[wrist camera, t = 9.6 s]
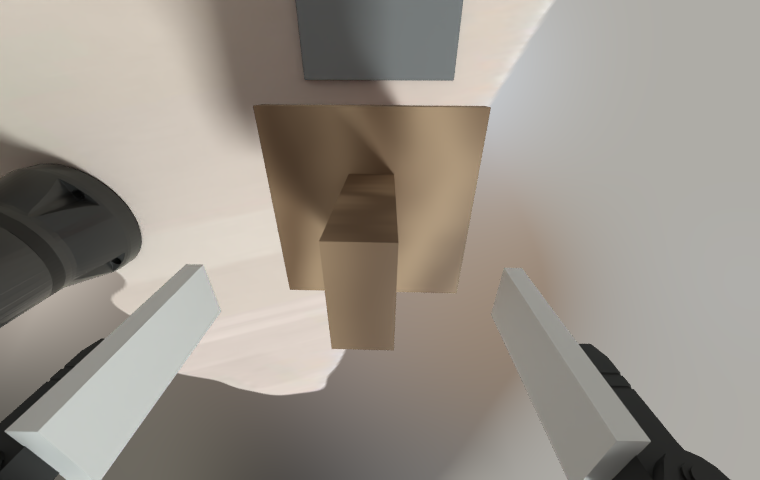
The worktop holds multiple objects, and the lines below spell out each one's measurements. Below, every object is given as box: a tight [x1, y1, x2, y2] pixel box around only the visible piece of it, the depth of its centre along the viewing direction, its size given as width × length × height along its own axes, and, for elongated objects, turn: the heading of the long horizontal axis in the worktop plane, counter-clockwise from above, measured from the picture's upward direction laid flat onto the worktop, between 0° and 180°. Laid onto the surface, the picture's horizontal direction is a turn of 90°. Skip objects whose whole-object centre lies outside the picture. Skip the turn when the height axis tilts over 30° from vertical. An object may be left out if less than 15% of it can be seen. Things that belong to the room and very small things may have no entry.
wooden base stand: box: [253, 104, 491, 350], centre depth 16 cm, size 14×14×10 cm
